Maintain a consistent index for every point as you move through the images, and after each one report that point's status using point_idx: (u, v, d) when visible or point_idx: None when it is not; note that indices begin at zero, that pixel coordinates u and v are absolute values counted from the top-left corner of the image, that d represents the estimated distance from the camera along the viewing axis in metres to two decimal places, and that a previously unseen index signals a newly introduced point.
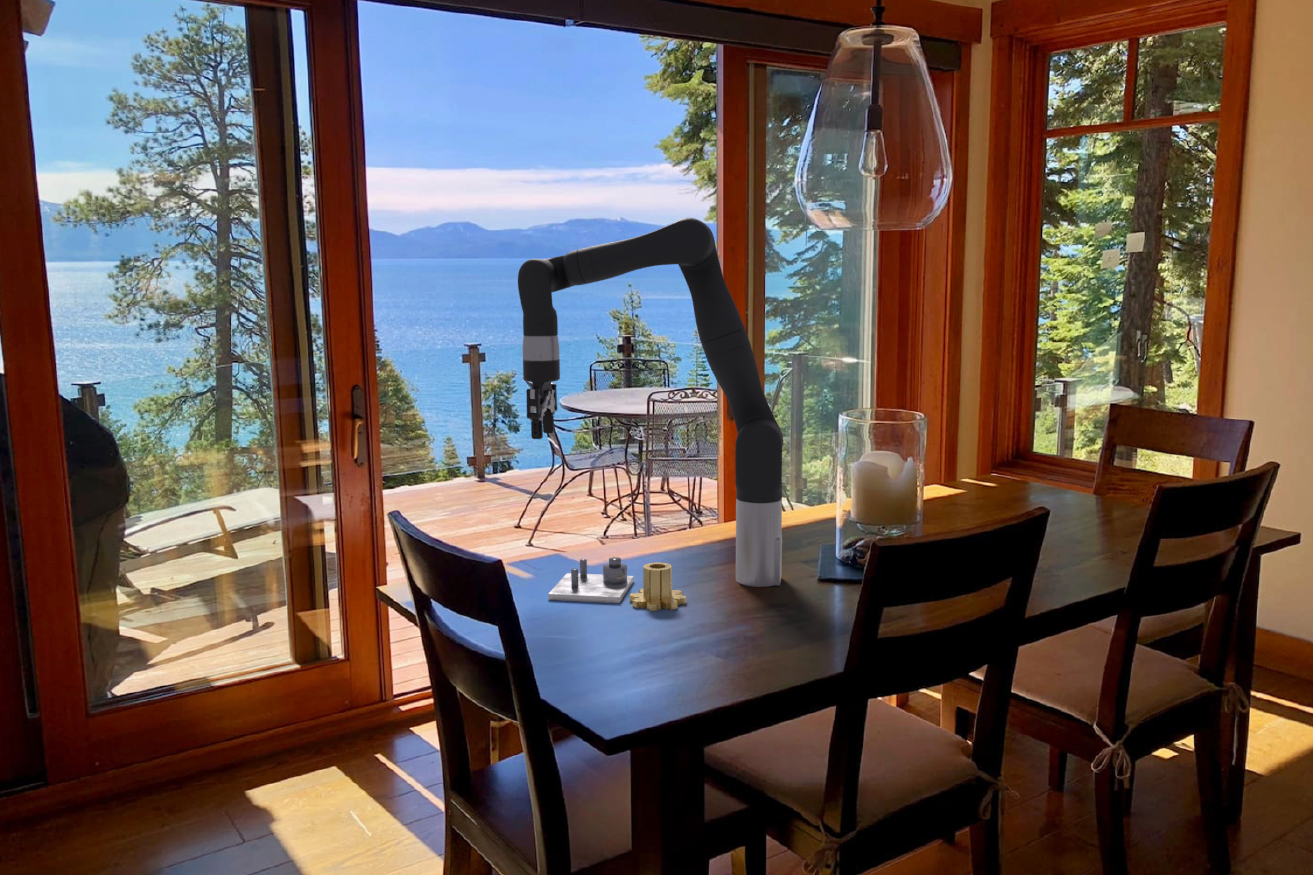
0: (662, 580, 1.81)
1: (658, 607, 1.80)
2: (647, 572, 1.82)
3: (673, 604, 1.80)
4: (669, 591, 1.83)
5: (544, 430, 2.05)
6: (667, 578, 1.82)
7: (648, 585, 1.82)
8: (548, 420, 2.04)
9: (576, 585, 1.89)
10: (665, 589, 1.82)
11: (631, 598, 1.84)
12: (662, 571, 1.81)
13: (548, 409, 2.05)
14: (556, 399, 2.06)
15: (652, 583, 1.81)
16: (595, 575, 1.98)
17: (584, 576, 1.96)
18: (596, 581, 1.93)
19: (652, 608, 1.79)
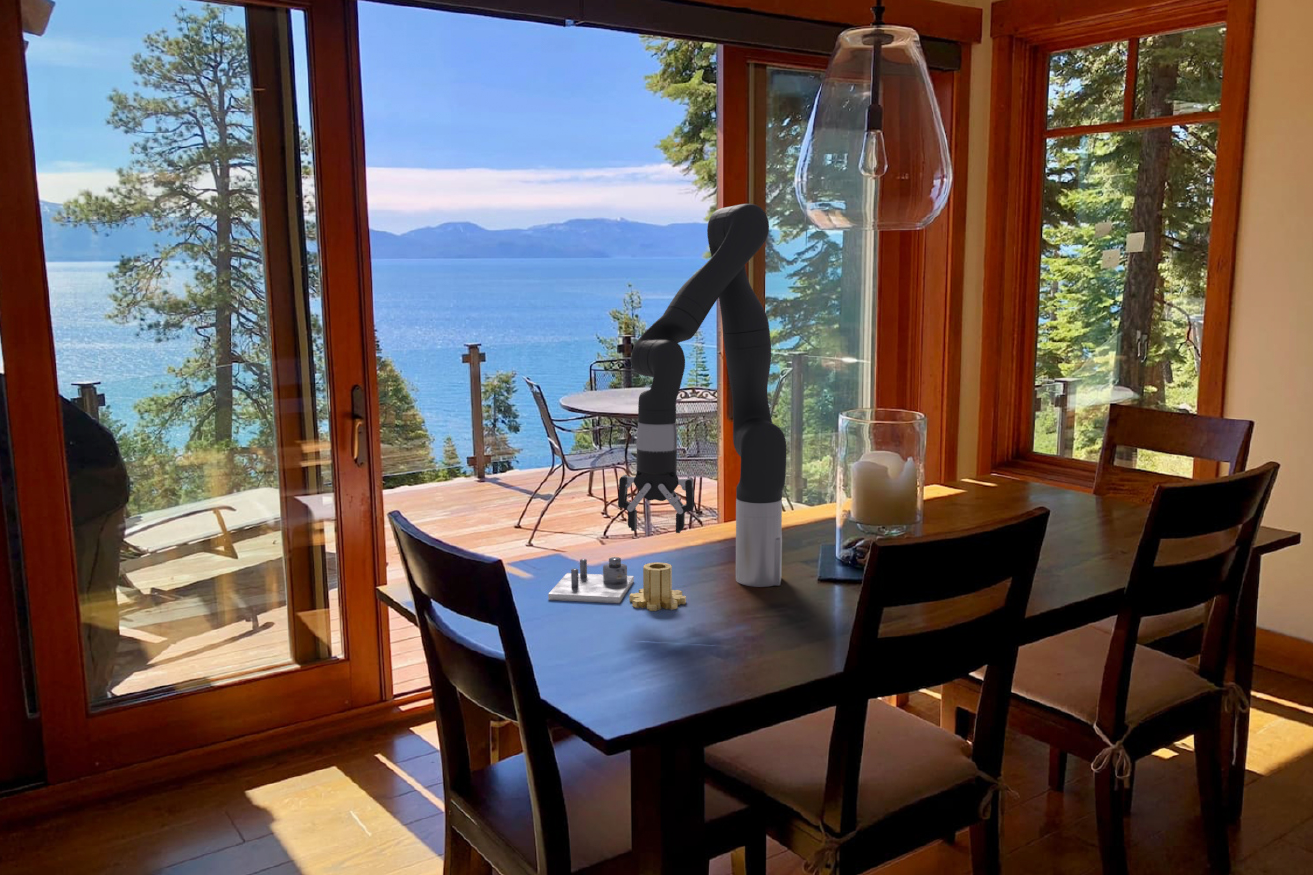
0: (662, 580, 1.81)
1: (658, 607, 1.80)
2: (647, 572, 1.82)
3: (673, 604, 1.80)
4: (669, 591, 1.83)
5: (634, 528, 1.82)
6: (667, 578, 1.82)
7: (648, 585, 1.82)
8: (635, 516, 1.83)
9: (576, 585, 1.89)
10: (665, 589, 1.82)
11: (631, 598, 1.84)
12: (662, 571, 1.81)
13: None
14: None
15: (652, 583, 1.81)
16: (595, 575, 1.98)
17: (584, 576, 1.96)
18: (596, 581, 1.93)
19: (652, 608, 1.79)
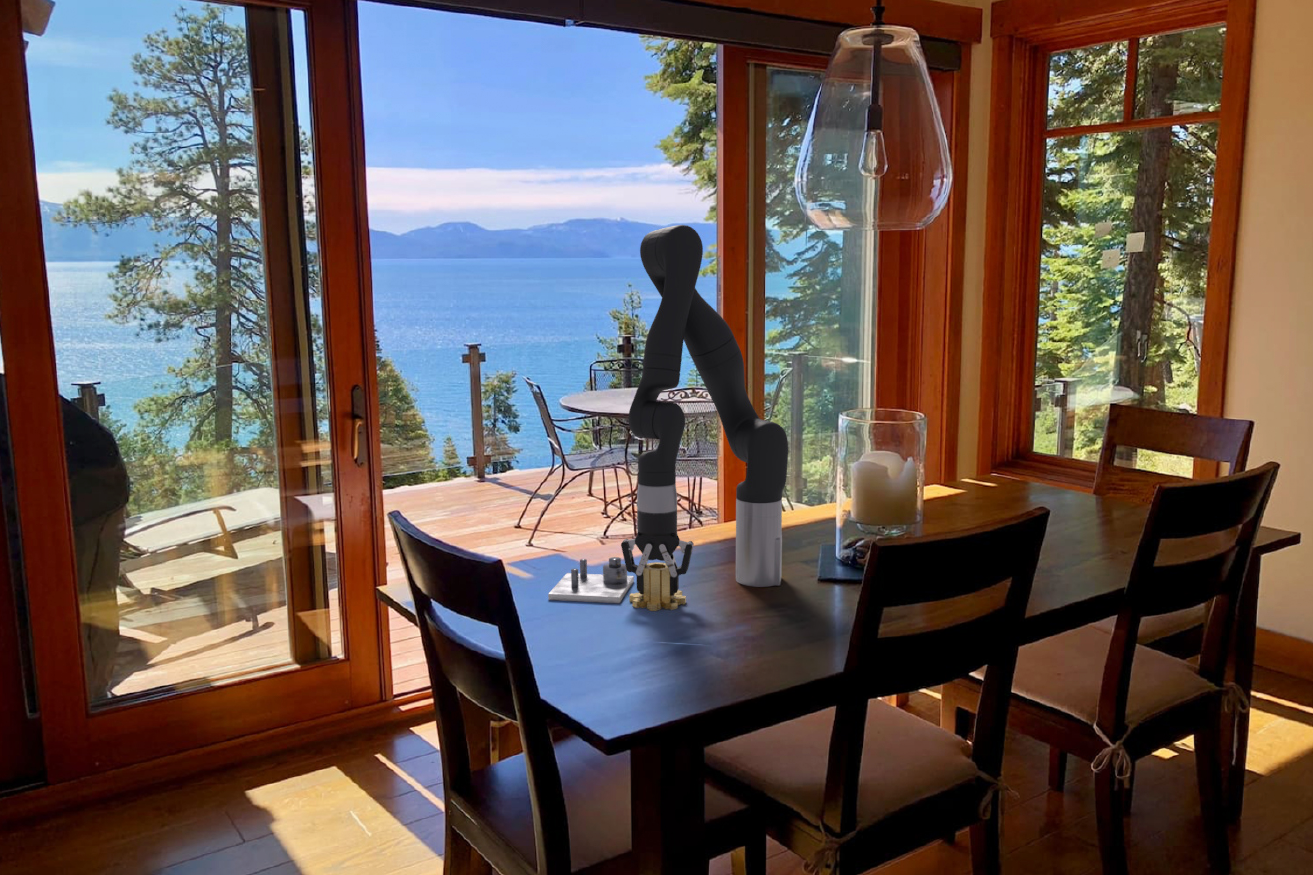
0: (662, 580, 1.81)
1: (658, 607, 1.80)
2: (647, 572, 1.82)
3: (673, 604, 1.80)
4: (669, 591, 1.83)
5: (643, 591, 1.84)
6: (667, 578, 1.82)
7: (648, 585, 1.82)
8: None
9: (576, 585, 1.89)
10: (665, 589, 1.82)
11: (631, 598, 1.84)
12: (662, 571, 1.81)
13: None
14: None
15: (652, 583, 1.81)
16: (595, 575, 1.98)
17: (584, 576, 1.96)
18: (596, 581, 1.93)
19: (652, 608, 1.79)
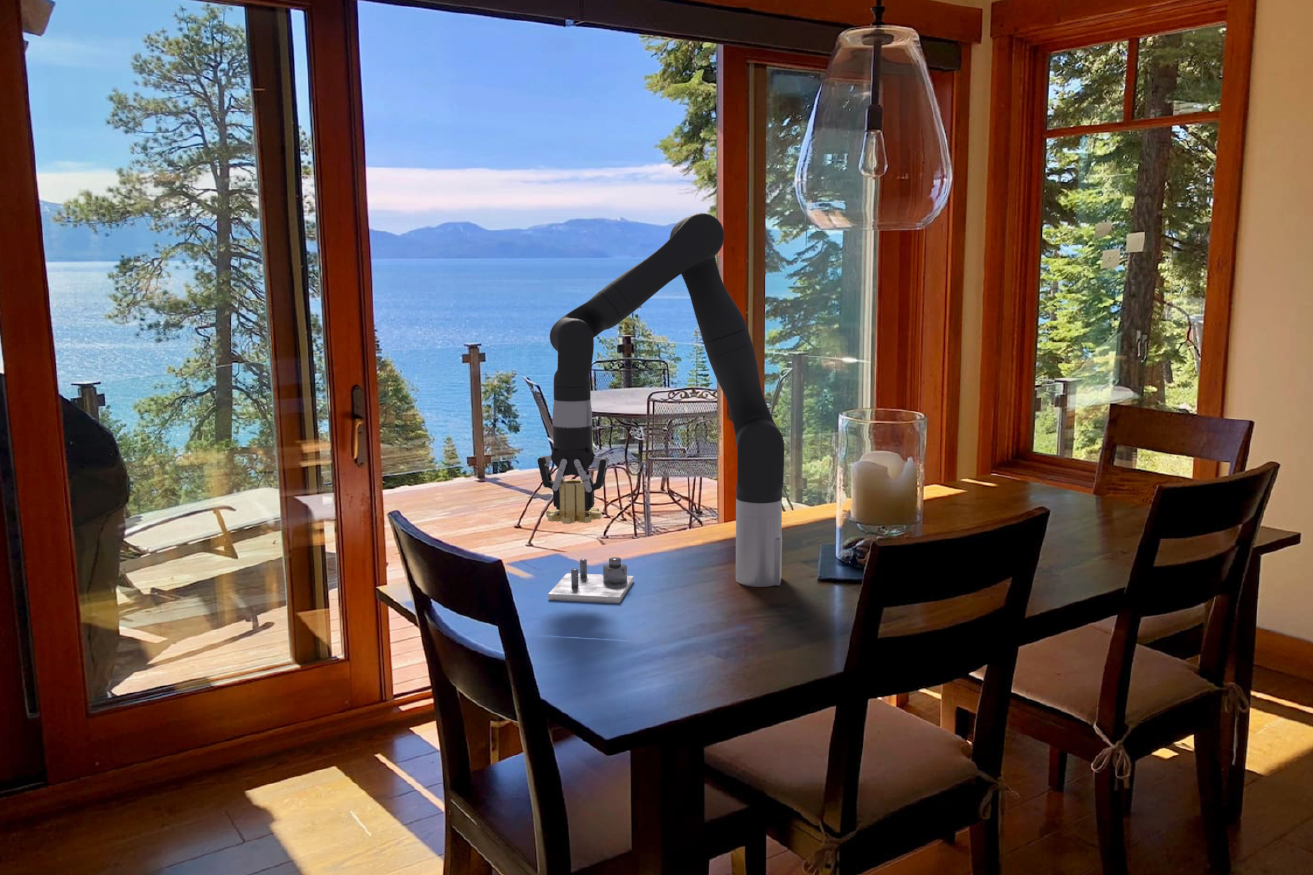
0: (577, 495, 1.85)
1: (572, 520, 1.83)
2: (562, 487, 1.85)
3: (587, 518, 1.83)
4: (584, 506, 1.86)
5: None
6: (582, 493, 1.85)
7: (563, 500, 1.85)
8: None
9: (576, 585, 1.89)
10: (580, 504, 1.85)
11: (548, 514, 1.88)
12: (577, 486, 1.84)
13: None
14: None
15: (567, 497, 1.85)
16: (595, 575, 1.98)
17: (584, 576, 1.96)
18: (596, 581, 1.93)
19: (566, 521, 1.83)
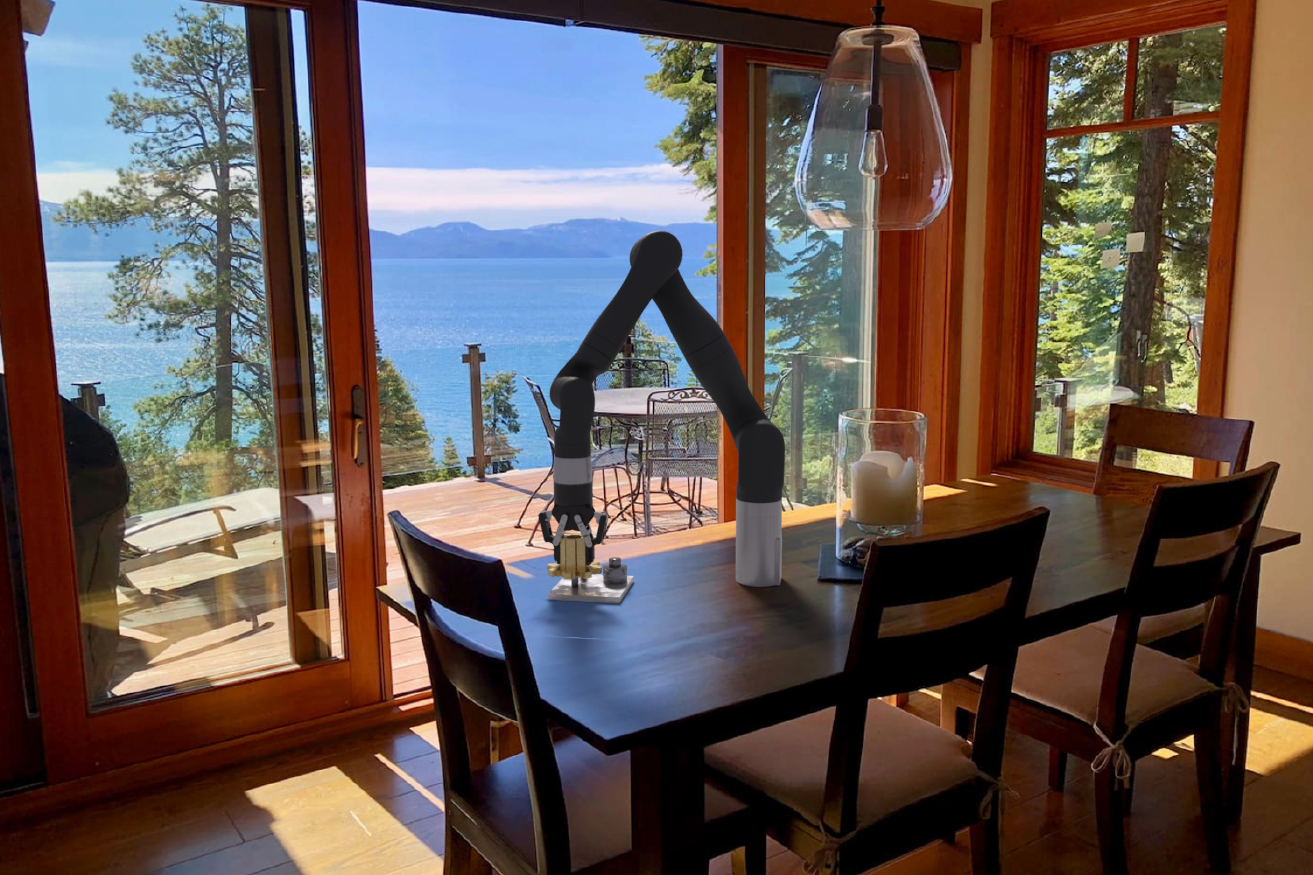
0: (577, 550, 1.86)
1: (573, 576, 1.85)
2: (563, 542, 1.87)
3: (587, 573, 1.85)
4: (585, 561, 1.88)
5: None
6: (582, 548, 1.87)
7: (564, 555, 1.87)
8: None
9: (576, 585, 1.89)
10: (580, 559, 1.87)
11: (548, 568, 1.90)
12: (577, 541, 1.86)
13: None
14: None
15: (568, 553, 1.87)
16: (595, 575, 1.98)
17: None
18: (596, 581, 1.93)
19: (566, 577, 1.84)
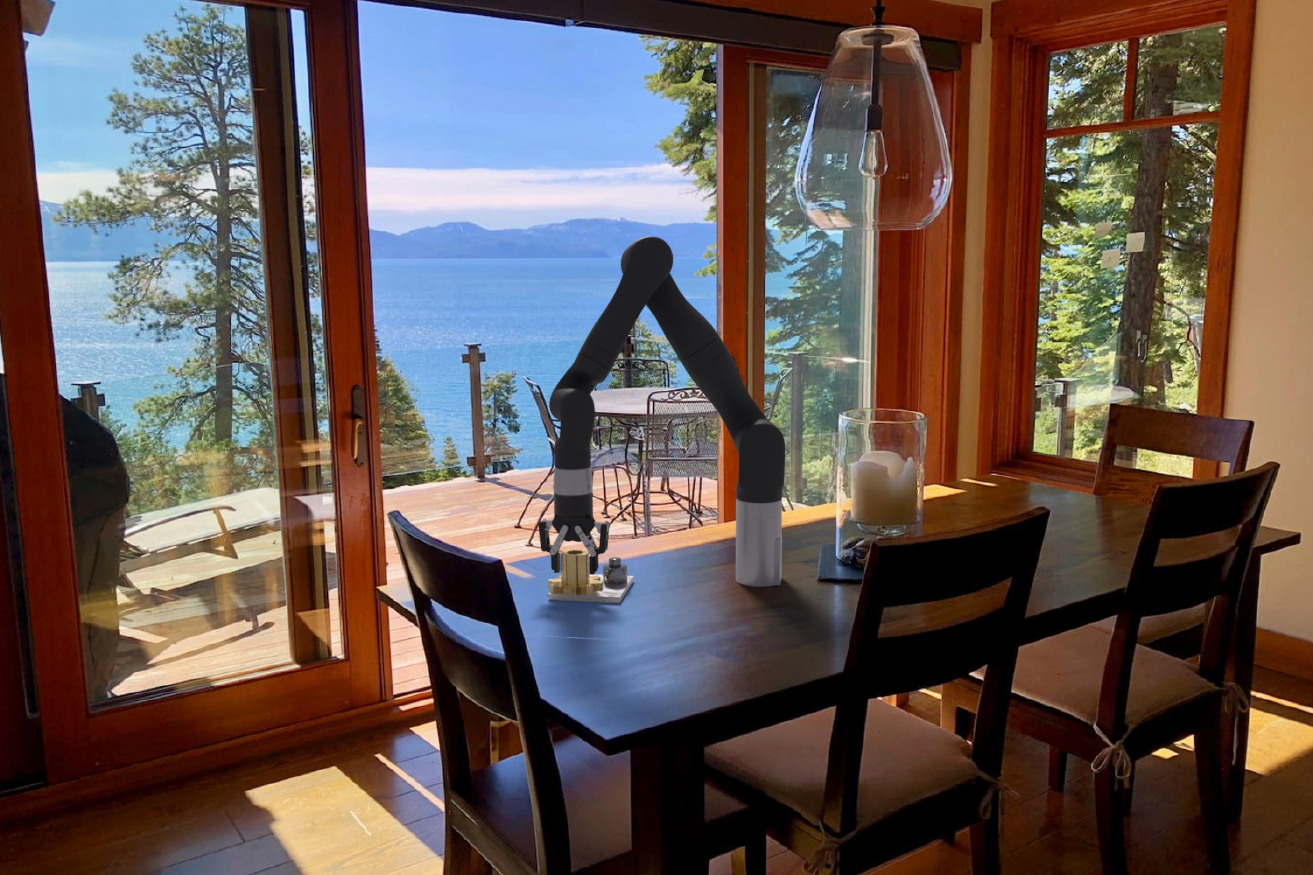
0: (578, 566, 1.87)
1: (574, 592, 1.85)
2: (564, 558, 1.87)
3: (588, 589, 1.85)
4: (586, 576, 1.88)
5: (558, 570, 1.89)
6: (583, 564, 1.87)
7: (565, 570, 1.87)
8: (559, 558, 1.90)
9: None
10: (581, 575, 1.87)
11: (550, 583, 1.90)
12: (578, 557, 1.86)
13: None
14: None
15: (569, 568, 1.87)
16: (595, 575, 1.98)
17: None
18: None
19: (568, 593, 1.85)
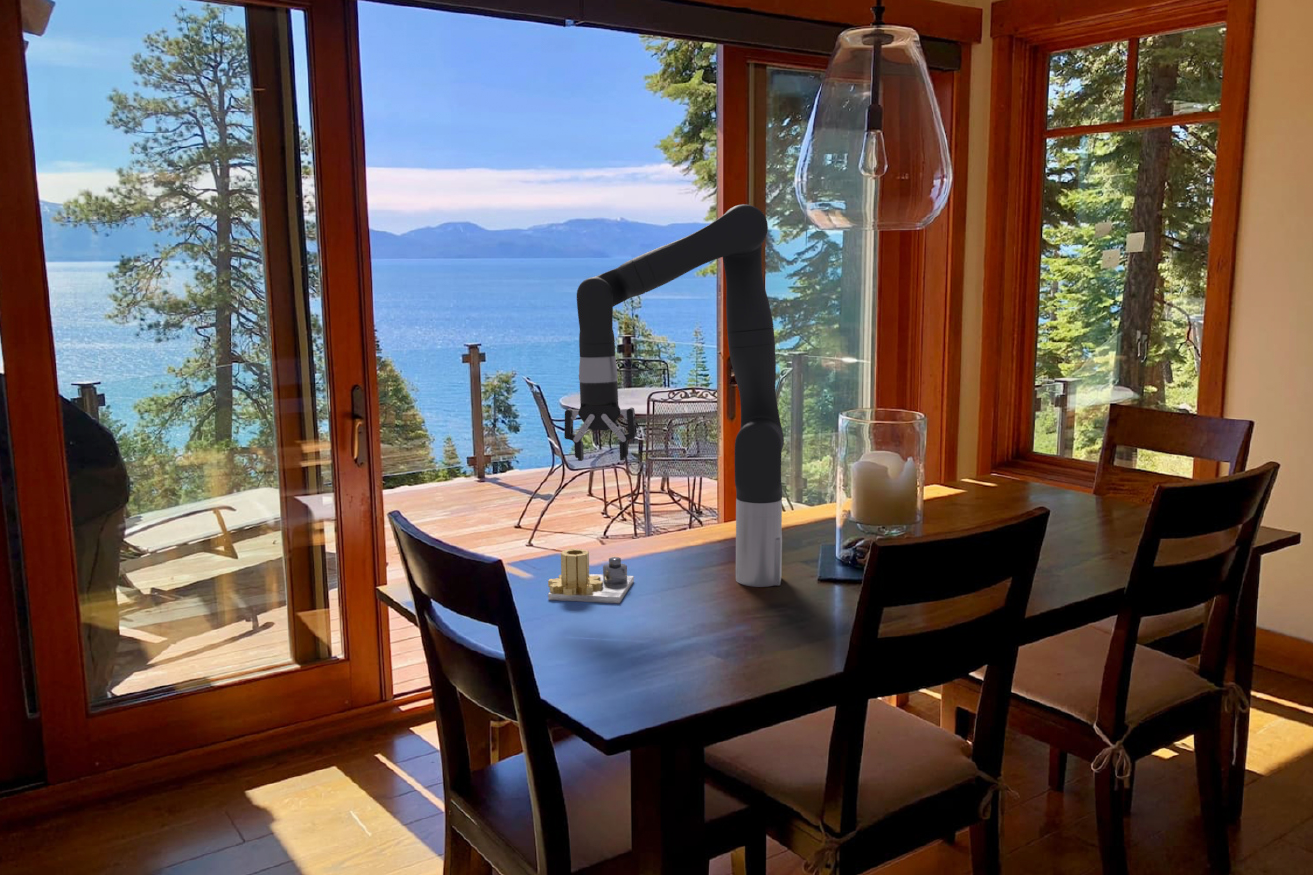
0: (578, 566, 1.87)
1: (574, 592, 1.85)
2: (564, 558, 1.87)
3: (588, 589, 1.85)
4: (586, 576, 1.88)
5: (581, 458, 1.93)
6: (583, 564, 1.87)
7: (565, 570, 1.87)
8: (582, 446, 1.94)
9: None
10: (581, 575, 1.87)
11: (550, 583, 1.90)
12: (578, 557, 1.86)
13: None
14: None
15: (569, 568, 1.87)
16: (595, 575, 1.98)
17: None
18: None
19: (568, 593, 1.85)
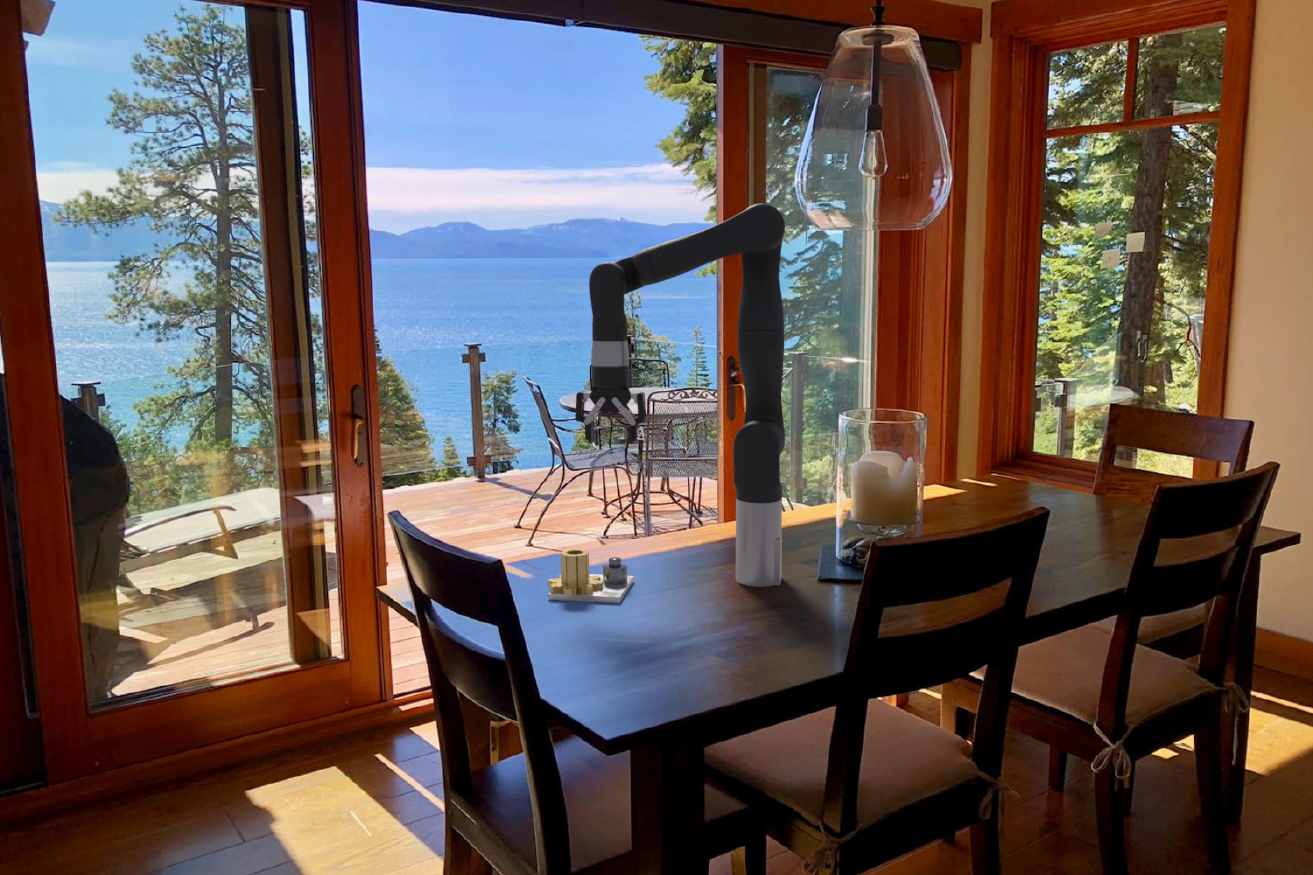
0: (578, 566, 1.87)
1: (574, 592, 1.85)
2: (564, 558, 1.87)
3: (588, 589, 1.85)
4: (586, 576, 1.88)
5: (591, 440, 1.97)
6: (583, 564, 1.87)
7: (565, 570, 1.87)
8: (592, 429, 1.97)
9: None
10: (581, 575, 1.87)
11: (550, 583, 1.90)
12: (578, 557, 1.86)
13: None
14: None
15: (569, 568, 1.87)
16: (595, 575, 1.98)
17: None
18: None
19: (568, 593, 1.85)
